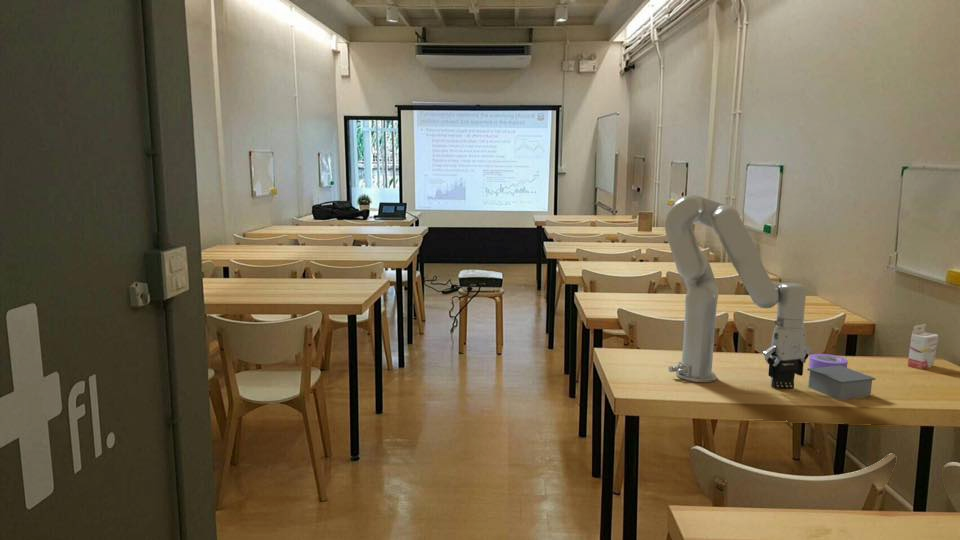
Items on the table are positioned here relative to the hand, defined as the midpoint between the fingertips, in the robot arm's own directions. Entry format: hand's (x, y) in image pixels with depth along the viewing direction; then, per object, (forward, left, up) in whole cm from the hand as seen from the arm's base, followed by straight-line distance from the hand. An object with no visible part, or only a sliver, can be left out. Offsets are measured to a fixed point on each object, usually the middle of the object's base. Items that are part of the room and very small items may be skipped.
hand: (785, 375), depth 202 cm
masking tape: (+31, +13, -5) cm, 34 cm away
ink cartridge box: (+66, +6, -5) cm, 66 cm away
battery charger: (0, 0, -4) cm, 4 cm away
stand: (+15, -7, -4) cm, 17 cm away
